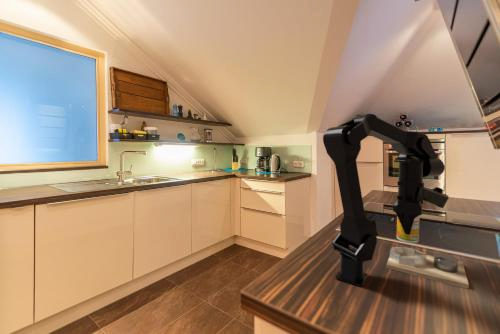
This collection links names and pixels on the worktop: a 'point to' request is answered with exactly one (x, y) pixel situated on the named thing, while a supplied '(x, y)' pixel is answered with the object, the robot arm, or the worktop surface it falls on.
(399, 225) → the supplement bottle
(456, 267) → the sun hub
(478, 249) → the worktop surface
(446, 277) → the carrier plate
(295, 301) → the worktop surface
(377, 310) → the worktop surface
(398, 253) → the socket collar
